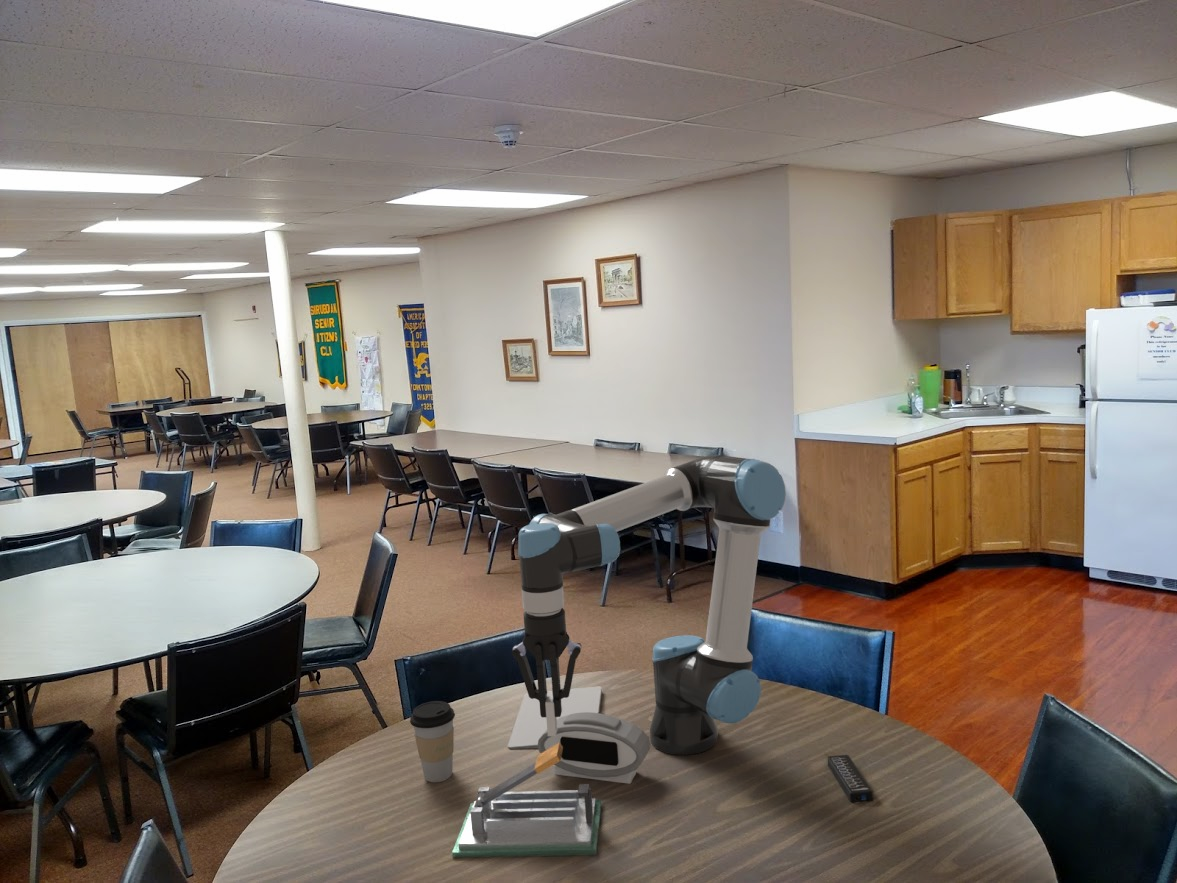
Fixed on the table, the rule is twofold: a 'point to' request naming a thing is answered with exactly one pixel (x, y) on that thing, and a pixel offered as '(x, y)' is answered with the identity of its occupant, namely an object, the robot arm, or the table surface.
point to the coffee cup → (434, 739)
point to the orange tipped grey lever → (522, 775)
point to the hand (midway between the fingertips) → (552, 732)
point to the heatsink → (531, 825)
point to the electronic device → (534, 725)
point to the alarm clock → (597, 747)
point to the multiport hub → (850, 779)
